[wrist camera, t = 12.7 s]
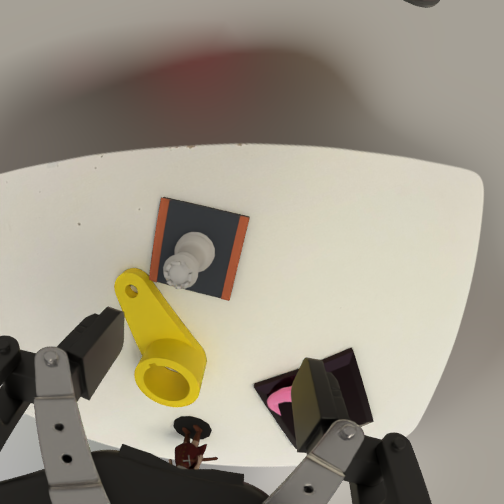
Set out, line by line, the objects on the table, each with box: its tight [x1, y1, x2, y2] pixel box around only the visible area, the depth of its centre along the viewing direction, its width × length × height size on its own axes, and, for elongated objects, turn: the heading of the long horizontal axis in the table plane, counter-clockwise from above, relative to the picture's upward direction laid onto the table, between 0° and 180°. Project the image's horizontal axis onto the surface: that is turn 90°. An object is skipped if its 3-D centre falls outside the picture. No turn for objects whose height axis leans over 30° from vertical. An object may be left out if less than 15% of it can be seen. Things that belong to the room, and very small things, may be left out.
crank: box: [114, 268, 207, 407], centre depth 33 cm, size 18×8×6 cm, turn 22°
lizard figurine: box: [254, 348, 374, 449], centre depth 36 cm, size 15×20×7 cm
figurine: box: [169, 416, 218, 469], centre depth 34 cm, size 7×7×15 cm
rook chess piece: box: [163, 232, 215, 289], centre depth 28 cm, size 4×4×8 cm
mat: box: [149, 197, 250, 301], centre depth 32 cm, size 10×10×1 cm
